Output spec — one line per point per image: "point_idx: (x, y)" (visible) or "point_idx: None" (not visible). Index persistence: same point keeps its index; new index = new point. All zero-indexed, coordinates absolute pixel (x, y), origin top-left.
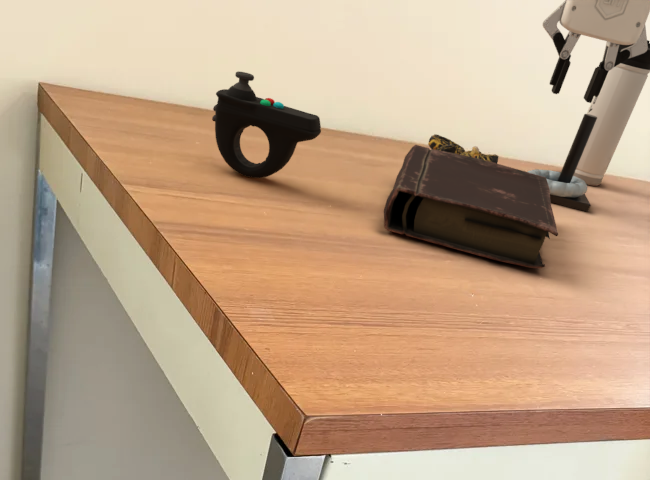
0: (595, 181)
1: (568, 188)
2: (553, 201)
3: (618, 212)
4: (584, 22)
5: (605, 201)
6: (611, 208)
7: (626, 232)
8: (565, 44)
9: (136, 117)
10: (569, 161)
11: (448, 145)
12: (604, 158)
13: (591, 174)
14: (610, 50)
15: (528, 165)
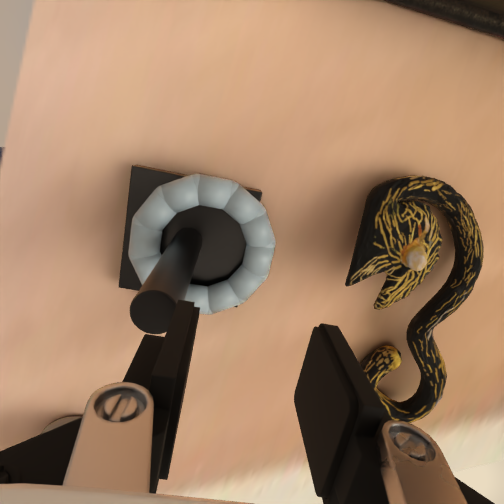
0: (55, 424)
1: (193, 176)
2: None
3: (44, 231)
4: None
5: (58, 308)
6: (56, 254)
7: (66, 40)
8: (458, 492)
9: None
10: (190, 249)
11: (445, 313)
12: None
13: None
14: (128, 487)
15: (187, 465)
